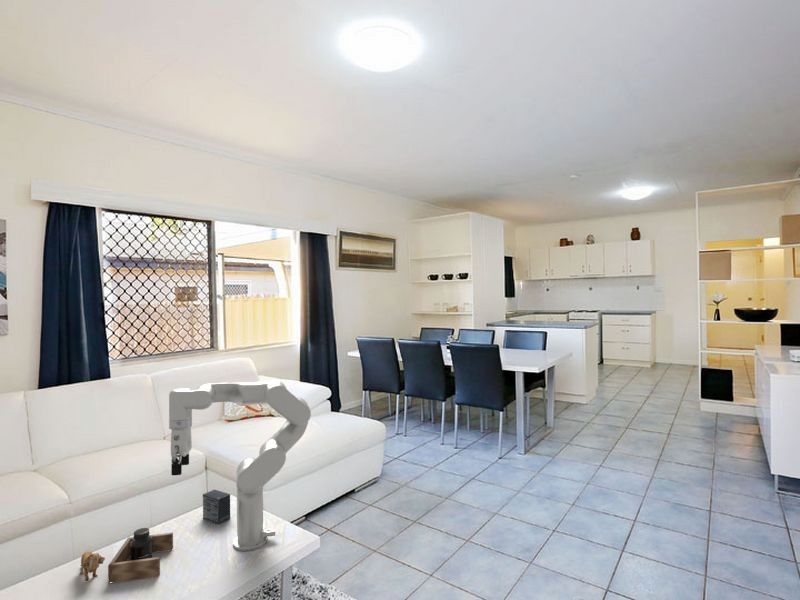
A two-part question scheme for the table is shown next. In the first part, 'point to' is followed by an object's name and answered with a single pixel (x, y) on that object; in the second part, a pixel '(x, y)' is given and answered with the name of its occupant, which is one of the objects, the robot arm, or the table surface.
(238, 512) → the robot arm
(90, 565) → the lion figurine
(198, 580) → the table surface
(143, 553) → the supplement bottle
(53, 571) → the table surface
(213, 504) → the small box
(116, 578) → the walnut u-shaped bracket
